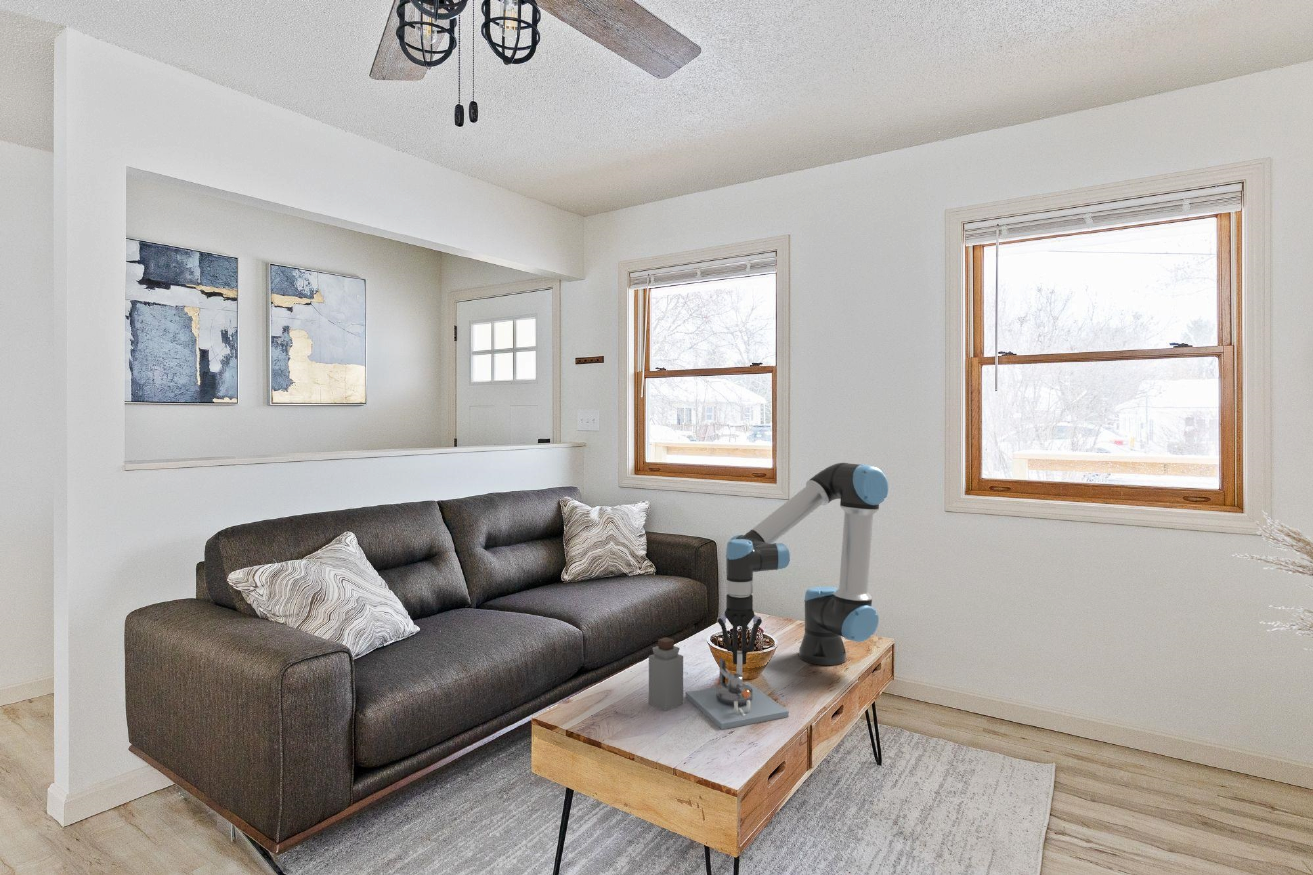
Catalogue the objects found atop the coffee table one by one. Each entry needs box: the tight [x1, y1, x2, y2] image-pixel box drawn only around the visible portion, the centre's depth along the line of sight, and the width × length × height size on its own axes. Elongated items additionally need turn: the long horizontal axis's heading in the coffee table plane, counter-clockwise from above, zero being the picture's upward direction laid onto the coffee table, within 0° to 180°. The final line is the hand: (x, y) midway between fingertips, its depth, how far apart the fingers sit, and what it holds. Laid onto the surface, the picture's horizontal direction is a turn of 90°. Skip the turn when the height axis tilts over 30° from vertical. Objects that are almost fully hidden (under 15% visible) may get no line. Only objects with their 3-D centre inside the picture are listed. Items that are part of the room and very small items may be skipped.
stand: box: [685, 681, 790, 730], centre depth 193 cm, size 20×22×4 cm
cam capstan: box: [716, 657, 753, 705], centre depth 195 cm, size 20×10×7 cm, turn 15°
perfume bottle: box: [648, 636, 684, 712], centre depth 195 cm, size 7×7×18 cm
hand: (739, 674), depth 203 cm, fingers closed
